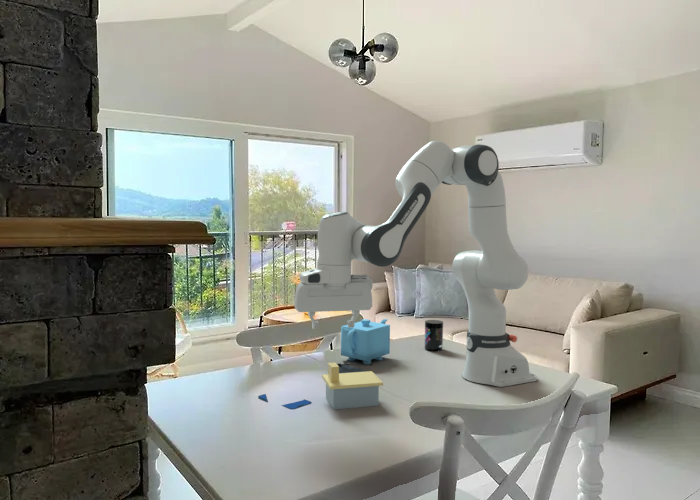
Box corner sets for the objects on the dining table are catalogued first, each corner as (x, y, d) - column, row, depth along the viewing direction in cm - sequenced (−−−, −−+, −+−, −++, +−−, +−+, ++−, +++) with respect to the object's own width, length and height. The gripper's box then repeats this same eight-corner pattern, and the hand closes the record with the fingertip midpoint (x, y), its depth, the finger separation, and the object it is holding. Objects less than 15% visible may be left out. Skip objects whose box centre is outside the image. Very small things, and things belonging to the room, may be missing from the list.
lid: (371, 377, 148) (371, 356, 148) (382, 389, 139) (383, 367, 138) (321, 381, 145) (322, 360, 144) (330, 393, 135) (330, 370, 135)
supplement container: (429, 346, 203) (429, 319, 203) (445, 348, 200) (446, 321, 199) (421, 349, 198) (421, 322, 197) (438, 352, 194) (438, 324, 193)
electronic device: (325, 382, 165) (357, 387, 154) (326, 363, 166) (358, 368, 155) (348, 380, 171) (381, 385, 160) (349, 362, 172) (381, 366, 161)
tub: (368, 396, 148) (368, 374, 148) (378, 407, 139) (378, 385, 139) (325, 399, 145) (326, 377, 145) (333, 411, 136) (333, 388, 136)
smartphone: (278, 390, 151) (313, 402, 141) (278, 393, 151) (313, 405, 141) (256, 396, 146) (291, 409, 136) (256, 399, 146) (291, 413, 136)
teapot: (361, 368, 174) (362, 326, 173) (335, 362, 181) (335, 321, 180) (399, 354, 191) (400, 316, 190) (374, 349, 198) (374, 312, 197)
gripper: (369, 273, 144) (368, 323, 145) (293, 274, 139) (293, 326, 140) (376, 275, 138) (375, 328, 139) (297, 276, 133) (296, 332, 134)
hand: (333, 327), depth 139 cm, fingers open, 8 cm apart
